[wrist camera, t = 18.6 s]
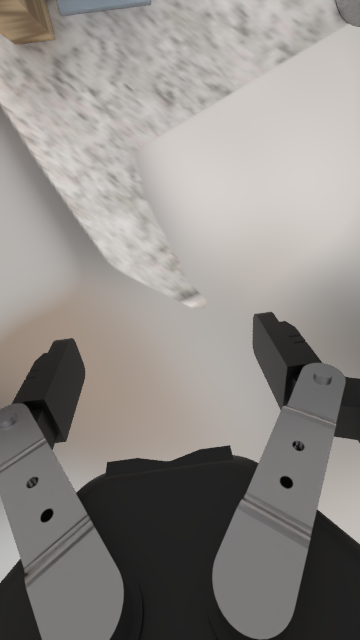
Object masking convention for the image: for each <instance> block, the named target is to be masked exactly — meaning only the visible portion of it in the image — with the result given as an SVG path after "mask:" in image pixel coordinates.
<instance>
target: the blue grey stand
mask: <svg viewBox="0 0 360 640" xmlns="http://www.w3.org/2000/svg"><path fill="white" fill-rule="evenodd" d="M57 4H58V8H59V12H60V14H61V15H62V16H64V15H72V14H80V13H87V12H95V11H103V10H111V9H118V8H126V7H134V6H142V5H150V4H151V0H57Z"/></svg>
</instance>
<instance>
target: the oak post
mask: <svg viewBox="0 0 360 640" xmlns="http://www.w3.org/2000/svg"><path fill="white" fill-rule="evenodd" d="M0 34H2V35H3V36H5V37H6V38H7V39H9V40H10V41H12V42H13V43H14V44H24V43H32V42H39V41H47V40H55V37H54V33H53V29H52V25H51V21H50V17H49V13H48V9H47V5H46V1H45V0H0Z"/></svg>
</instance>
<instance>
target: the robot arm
mask: <svg viewBox="0 0 360 640" xmlns="http://www.w3.org/2000/svg"><path fill="white" fill-rule="evenodd" d="M336 3H337V6H338V10H339V12H340V13H341V15H342V17H343V18H344V19H345V20H346V21H347V22H348V23H349V24H351V25H353V26H358V27H360V0H336ZM253 349H254V354H255V356H256V359H257V361H258V363H259V365H260V367H261V369H262V371H263V373H264V375H265V378H266V379H267V382H268V384H269V386H270V388H271V390H272V393H273V394H274V397H275V399H276V401H277V403H278V405H279V407H280V409H281V412H280V414H279V417H278V419H277V421H276V424H275V426H274V429H273V431H272V433H271V435H270V438H269V440H268V443H267V445H266V447H265V450H264V452H263V454H262V457H261V460H260V461H259V463H257V462H254V461H253V460H250V459H248V458H244V457H240V456H235V455H232V452H231V448H230V446H222V447H215V448H208V449H200V450H198V451H195V452H193V453H191V454H187V455H185V456H183V457H180V458H177V459H175V460H172V461H157V460H149V459H140V458H136V459H128V460H120V461H113V462H107V468H106V473H105V474H102V475H100V476H98V477H96V478H95V479H93V480H91V481H90V482H88V483H87V484H86V485H85V486H83V487H82V488H81V489H80V490H79V491H78V492H77V493H76V491H75V490H74V488H73V486H72V484H71V483H70V481H69V479H68V477H67V476H66V474H65V472H64V470H63V468H62V467H61V465H60V463H59V461H58V460H57V458H56V456H55V454H54V452H53V451H52V450H53V447H54V444H55V443H59V442H66V440H67V437H68V433H69V430H70V427H71V423H72V420H73V417H74V413H75V410H76V406H77V403H78V400H79V396H80V393H81V390H82V386H83V383H84V379H85V368H84V364H83V361H82V359H81V356H80V353H79V350H78V348H77V345H76V342H75V341H74V339H72V338H70V339H64V340H56V341H54V342H53V344H52V346H51V348H50V350H49V352H48V353H44V354H43V355H42V356H40V357H39V358H38V359H37V360H36V361H35V362H34V364H33V366H32V368H31V370H30V372H29V373H28V375H27V377H26V380H24V383H23V384H22V386H21V388H20V390H19V391H18V393H17V395H16V397H15V399H14V401H13V403H12V404H11V405H8V406H6V407H4V408H1V409H0V495H1V498H2V502H3V505H4V508H5V510H6V514H7V517H8V520H9V523H10V526H11V530H12V532H13V535H14V539H15V542H16V545H17V548H18V551H19V554H20V557H21V559H20V560H19V561H18V562H17V564H16V565H15V566H14V567H13V569H12V570H11V571H10V572H9V573H8V574H7V576H6V577H5V578H4V579H3V580H2V581H1V583H0V640H360V544H359V543H357V542H356V541H355V540H354V539H353V538H351V537H350V536H349V535H348V534H347V533H345V532H344V531H343V530H341V529H340V528H339V527H338V526H337V525H336V524H334V523H333V522H332V521H331V520H329V519H328V518H327V517H326V516H325V515H323V514H322V513H321V512H320V511H318V510H317V507H318V502H319V498H320V494H321V489H322V485H323V480H324V476H325V472H326V467H327V463H328V459H329V454H330V450H331V446H332V441H333V437H334V436H335V437H341V438H349V439H355V440H358V441H359V443H360V379H357V378H348V377H345V376H344V375H343V374H342V372H341V371H340V370H338V369H337V368H335V367H333V366H331V365H328V364H324V363H322V362H321V360H320V359H319V358H318V357H317V355H316V354H315V353H314V351H313V350H312V349H311V347H310V346H309V345H308V344H307V342H305V339H304V338H303V337H302V336H301V334H300V333H299V332H298V330H297V329H296V328H295V327H294V326H292V325H291V324H289V323H287V322H286V321H284V322H279V321H278V320H277V318H276V317H275V315H274V314H273V313H272V312H267V313H259V314H254V317H253Z"/></svg>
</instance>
